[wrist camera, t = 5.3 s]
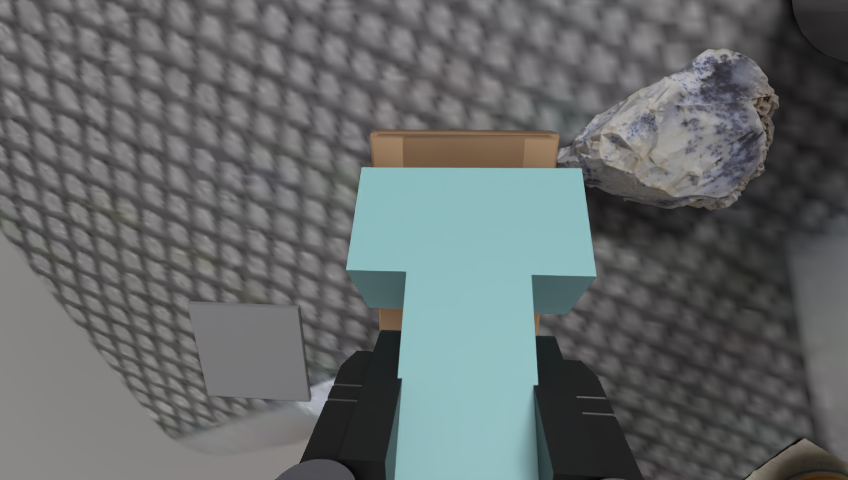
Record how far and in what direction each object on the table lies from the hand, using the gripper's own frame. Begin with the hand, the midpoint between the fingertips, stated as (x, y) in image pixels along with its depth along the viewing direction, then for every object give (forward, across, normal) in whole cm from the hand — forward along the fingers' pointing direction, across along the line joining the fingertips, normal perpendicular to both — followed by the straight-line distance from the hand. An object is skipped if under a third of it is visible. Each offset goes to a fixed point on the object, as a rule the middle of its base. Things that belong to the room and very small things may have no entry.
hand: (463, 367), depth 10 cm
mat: (+17, +15, +12) cm, 26 cm away
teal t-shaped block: (+2, 0, -3) cm, 4 cm away
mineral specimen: (+17, -10, -3) cm, 20 cm away
